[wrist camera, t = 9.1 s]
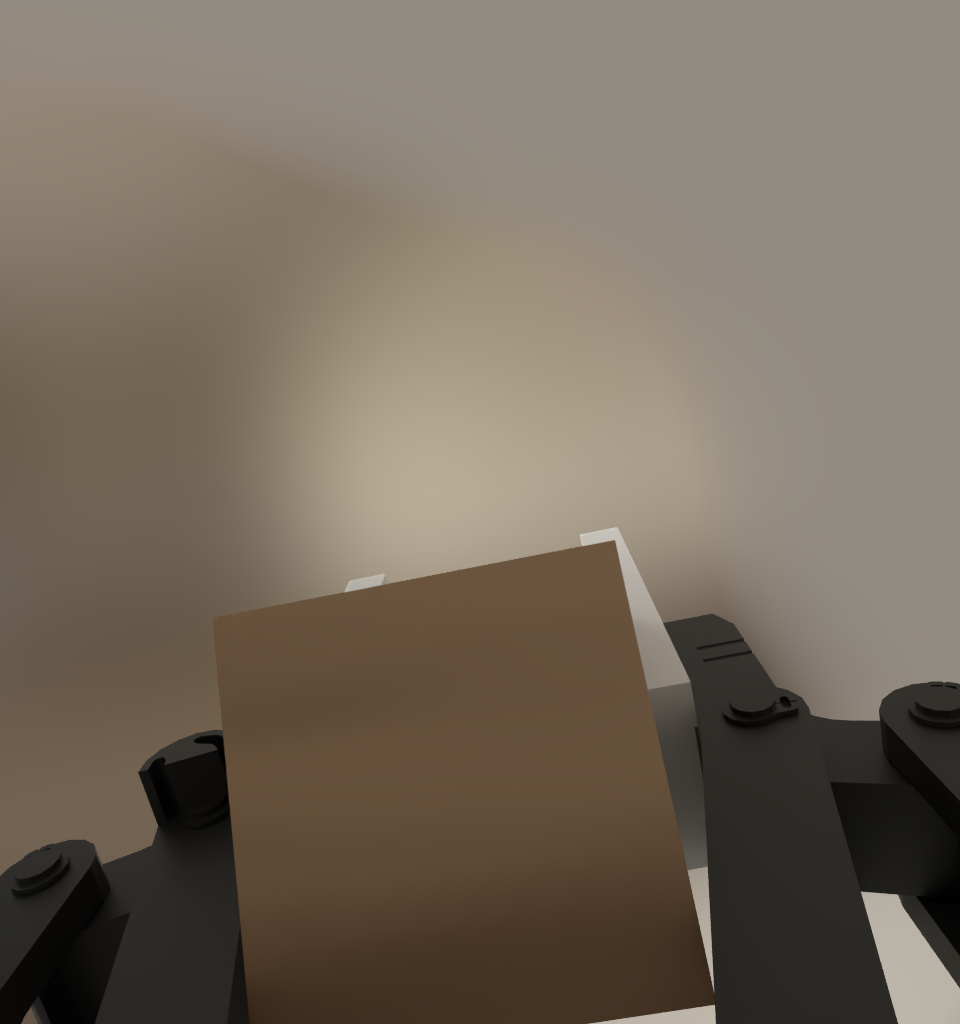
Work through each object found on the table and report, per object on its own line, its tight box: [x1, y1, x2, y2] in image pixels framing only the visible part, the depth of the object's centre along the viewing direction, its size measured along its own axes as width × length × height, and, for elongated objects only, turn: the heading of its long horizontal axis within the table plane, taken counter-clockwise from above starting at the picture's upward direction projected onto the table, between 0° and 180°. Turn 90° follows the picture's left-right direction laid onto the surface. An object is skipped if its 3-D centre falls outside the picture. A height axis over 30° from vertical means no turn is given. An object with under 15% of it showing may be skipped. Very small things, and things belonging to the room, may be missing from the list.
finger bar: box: [213, 540, 715, 1024], centre depth 20 cm, size 26×5×6 cm, turn 173°
